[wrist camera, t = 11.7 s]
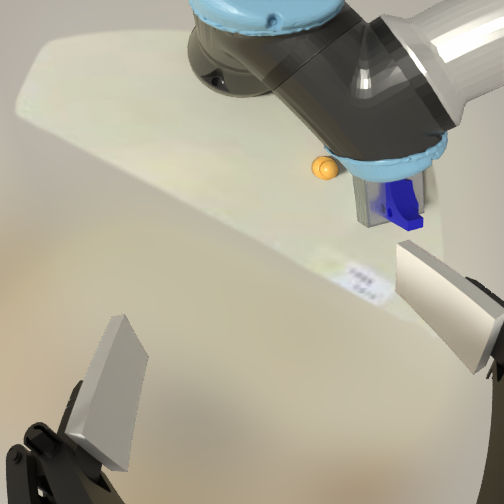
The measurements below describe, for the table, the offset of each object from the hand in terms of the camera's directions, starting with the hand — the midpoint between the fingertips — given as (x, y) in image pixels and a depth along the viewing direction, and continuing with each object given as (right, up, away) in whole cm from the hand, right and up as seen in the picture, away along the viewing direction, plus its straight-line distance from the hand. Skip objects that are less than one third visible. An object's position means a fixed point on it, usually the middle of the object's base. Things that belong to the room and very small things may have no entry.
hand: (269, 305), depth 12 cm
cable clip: (+22, +14, +27) cm, 37 cm away
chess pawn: (+10, +15, +28) cm, 34 cm away
